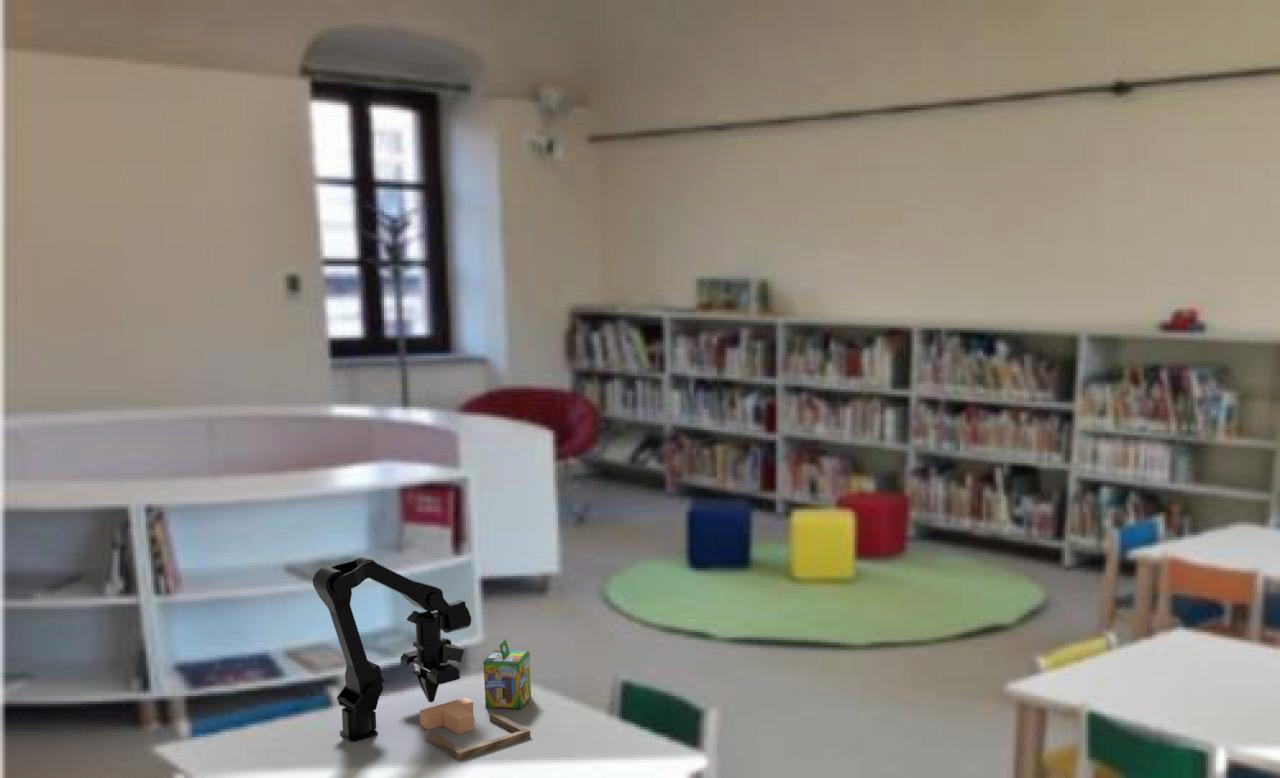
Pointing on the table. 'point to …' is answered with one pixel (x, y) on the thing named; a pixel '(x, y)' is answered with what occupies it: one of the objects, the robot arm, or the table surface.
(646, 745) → the table surface
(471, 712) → the t block
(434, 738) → the bay
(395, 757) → the table surface
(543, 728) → the table surface
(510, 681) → the chalk box
